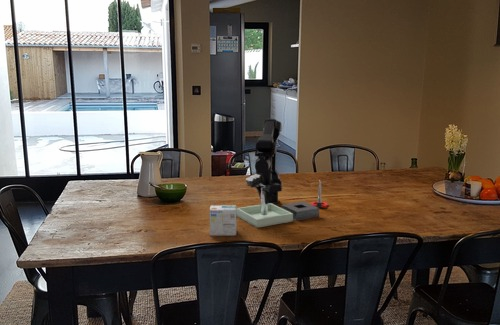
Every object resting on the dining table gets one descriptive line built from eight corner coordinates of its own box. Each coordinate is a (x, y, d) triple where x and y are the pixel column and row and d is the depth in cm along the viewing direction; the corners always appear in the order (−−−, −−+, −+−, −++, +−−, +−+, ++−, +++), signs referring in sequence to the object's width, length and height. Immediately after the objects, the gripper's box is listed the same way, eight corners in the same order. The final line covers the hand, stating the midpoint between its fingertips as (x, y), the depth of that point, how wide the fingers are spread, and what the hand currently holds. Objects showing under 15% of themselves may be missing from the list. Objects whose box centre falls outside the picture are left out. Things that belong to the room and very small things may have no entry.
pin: (259, 213, 218) (259, 187, 215) (265, 212, 219) (265, 186, 217) (262, 215, 215) (263, 188, 213) (269, 214, 217) (269, 188, 214)
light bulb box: (236, 230, 203) (236, 204, 200) (236, 235, 196) (236, 209, 194) (210, 230, 202) (210, 204, 200) (209, 235, 196) (209, 209, 193)
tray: (236, 215, 221) (236, 208, 220) (270, 210, 230) (270, 203, 229) (256, 227, 206) (256, 219, 205) (292, 221, 214) (292, 213, 214)
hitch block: (281, 213, 226) (281, 204, 225) (302, 209, 231) (303, 201, 231) (296, 220, 215) (296, 211, 215) (318, 216, 221) (319, 208, 220)
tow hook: (310, 203, 244) (310, 207, 235) (311, 177, 242) (311, 180, 233) (328, 204, 242) (328, 208, 233) (329, 178, 240) (329, 181, 231)
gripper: (238, 165, 217) (237, 200, 220) (259, 174, 201) (259, 211, 204) (260, 163, 222) (259, 197, 226) (283, 171, 207) (282, 207, 210)
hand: (264, 203), depth 216 cm, fingers closed on pin, 3 cm apart
